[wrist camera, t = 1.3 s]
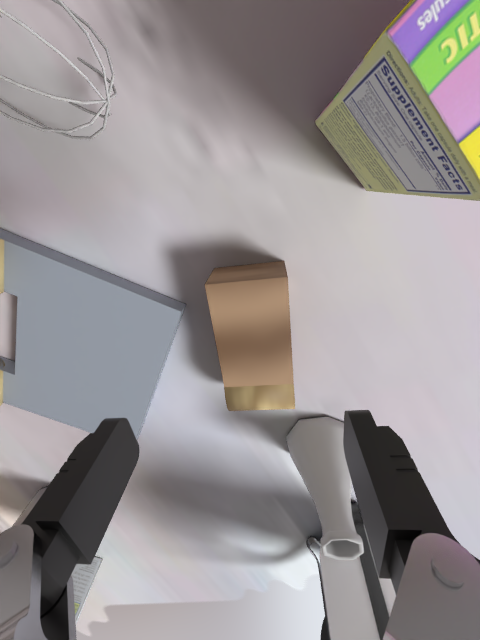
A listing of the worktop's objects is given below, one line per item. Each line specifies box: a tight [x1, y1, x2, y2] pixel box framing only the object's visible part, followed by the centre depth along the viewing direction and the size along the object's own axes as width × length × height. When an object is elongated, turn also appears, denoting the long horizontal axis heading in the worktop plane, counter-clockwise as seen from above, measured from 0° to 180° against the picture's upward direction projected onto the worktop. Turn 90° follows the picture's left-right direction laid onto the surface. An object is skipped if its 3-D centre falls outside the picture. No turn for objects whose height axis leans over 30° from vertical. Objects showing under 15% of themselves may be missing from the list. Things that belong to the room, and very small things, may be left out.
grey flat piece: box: [0, 229, 186, 440], centre depth 25 cm, size 18×18×4 cm
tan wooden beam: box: [205, 261, 295, 411], centre depth 23 cm, size 12×6×4 cm, turn 7°
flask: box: [286, 417, 364, 560], centre depth 25 cm, size 7×7×10 cm
